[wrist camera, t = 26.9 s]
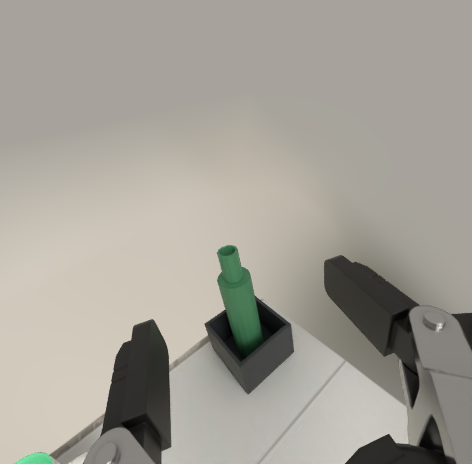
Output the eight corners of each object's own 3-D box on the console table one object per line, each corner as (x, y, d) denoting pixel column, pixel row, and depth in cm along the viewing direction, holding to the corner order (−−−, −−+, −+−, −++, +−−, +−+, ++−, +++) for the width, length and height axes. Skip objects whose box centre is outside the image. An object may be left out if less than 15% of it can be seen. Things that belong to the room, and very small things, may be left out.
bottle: (258, 332, 49) (238, 237, 38) (269, 354, 45) (249, 254, 34) (234, 342, 48) (207, 248, 37) (242, 365, 44) (214, 266, 33)
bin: (255, 317, 54) (250, 292, 50) (294, 351, 45) (291, 324, 41) (213, 349, 49) (204, 323, 45) (248, 394, 40) (239, 367, 36)
